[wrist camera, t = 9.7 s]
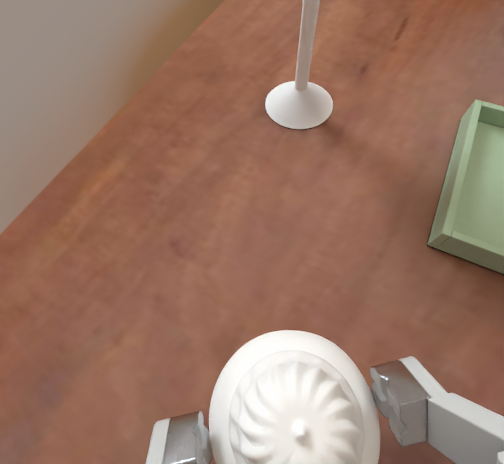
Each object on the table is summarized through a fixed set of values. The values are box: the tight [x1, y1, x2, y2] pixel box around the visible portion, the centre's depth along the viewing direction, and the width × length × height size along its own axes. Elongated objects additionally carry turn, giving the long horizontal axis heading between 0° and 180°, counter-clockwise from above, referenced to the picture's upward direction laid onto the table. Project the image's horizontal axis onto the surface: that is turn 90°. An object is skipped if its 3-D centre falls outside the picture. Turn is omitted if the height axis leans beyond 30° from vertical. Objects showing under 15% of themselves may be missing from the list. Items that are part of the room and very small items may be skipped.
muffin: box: [209, 330, 380, 464], centre depth 11 cm, size 6×6×7 cm
